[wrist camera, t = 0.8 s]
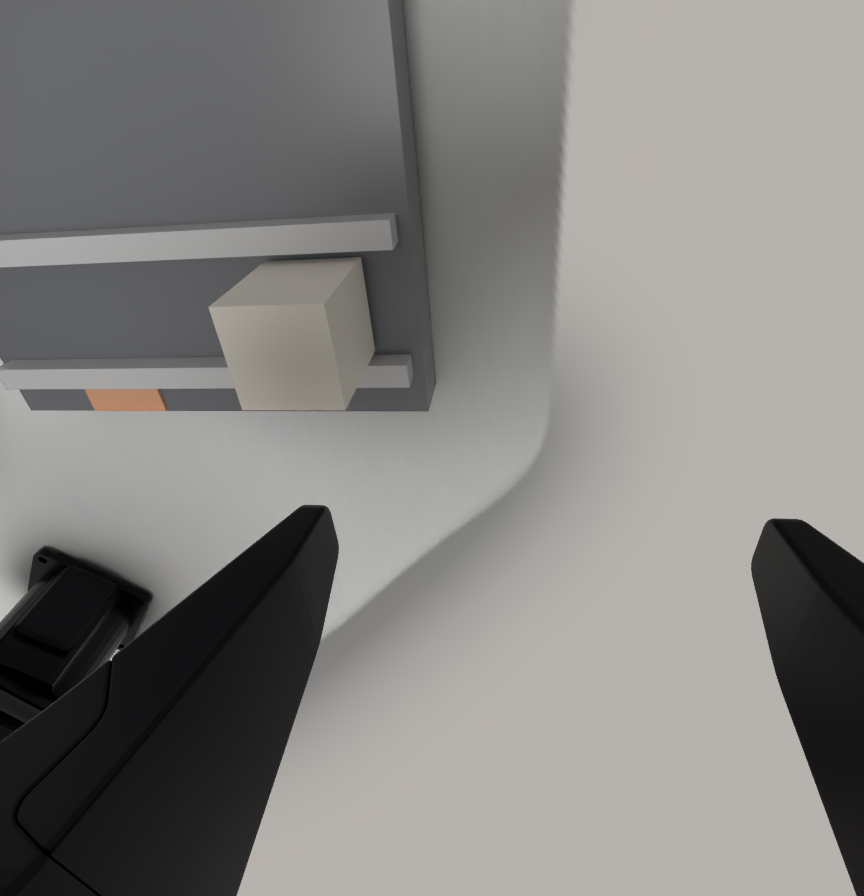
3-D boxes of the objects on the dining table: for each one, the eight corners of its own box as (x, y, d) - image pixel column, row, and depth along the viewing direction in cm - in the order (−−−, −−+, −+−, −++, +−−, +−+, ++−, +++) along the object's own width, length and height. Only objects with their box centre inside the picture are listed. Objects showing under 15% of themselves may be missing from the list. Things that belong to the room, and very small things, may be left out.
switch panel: (435, 383, 21) (425, 423, 19) (64, 385, 23) (16, 421, 21) (346, -650, 9) (289, -872, 7) (-366, -427, 12) (-575, -539, 10)
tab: (375, 350, 18) (345, 410, 15) (287, 351, 18) (242, 410, 15) (361, 257, 16) (323, 303, 13) (264, 261, 17) (208, 307, 14)
